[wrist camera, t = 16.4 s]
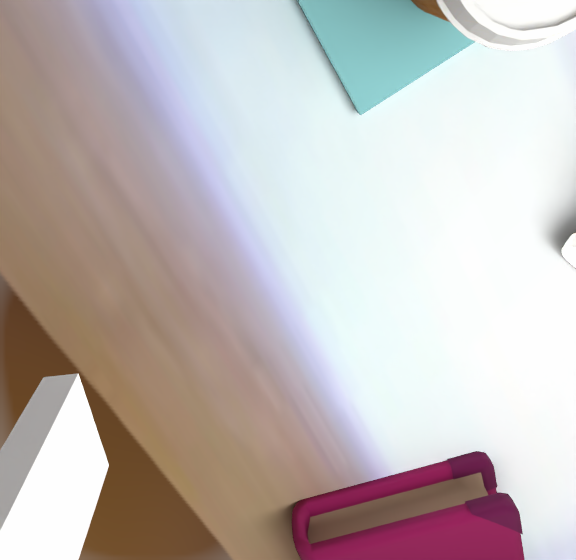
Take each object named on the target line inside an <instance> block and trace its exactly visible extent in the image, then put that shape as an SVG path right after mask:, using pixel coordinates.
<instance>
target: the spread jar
mask: <svg viewBox="0 0 576 560" xmlns="http://www.w3.org/2000/svg"><path fill="white" fill-rule="evenodd" d="M561 252H562V255H563V257H564V258H565V259H566V260H567V261H568V262H569V263H570V264H571V265H572V266H573V267H575V268H576V233H573V234H572V235H571V236H570V237H569V239H568V240H567V242H566V243H565V245H564V246H563V248H562V250H561Z"/></svg>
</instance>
